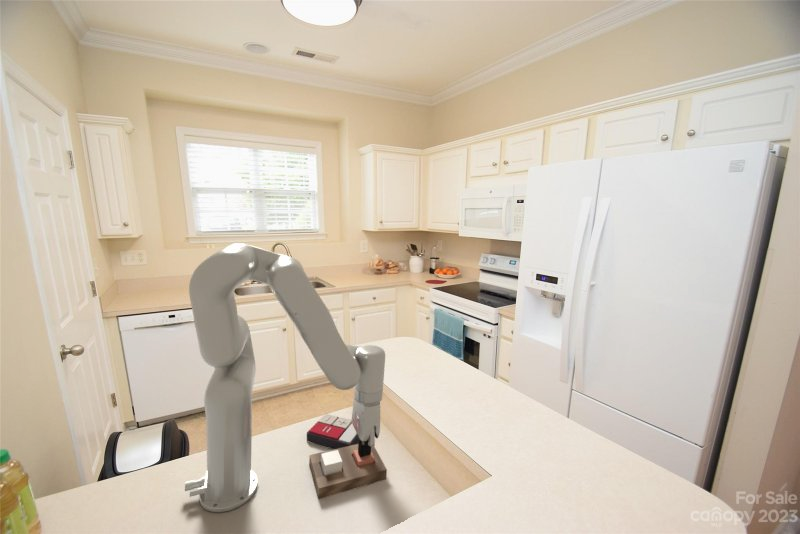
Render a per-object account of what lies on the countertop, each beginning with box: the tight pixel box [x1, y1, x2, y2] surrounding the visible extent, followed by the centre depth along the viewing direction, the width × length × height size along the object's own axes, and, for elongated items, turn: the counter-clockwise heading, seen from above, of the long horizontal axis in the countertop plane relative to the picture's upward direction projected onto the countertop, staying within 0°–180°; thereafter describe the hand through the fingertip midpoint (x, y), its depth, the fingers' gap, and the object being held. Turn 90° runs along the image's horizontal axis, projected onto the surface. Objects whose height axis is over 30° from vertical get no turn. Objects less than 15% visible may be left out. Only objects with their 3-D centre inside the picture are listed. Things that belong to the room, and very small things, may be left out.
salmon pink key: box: [353, 450, 374, 467], centre depth 91 cm, size 4×4×4 cm
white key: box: [321, 450, 342, 476], centre depth 87 cm, size 4×4×4 cm
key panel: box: [308, 444, 388, 500], centre depth 90 cm, size 18×12×3 cm, turn 115°
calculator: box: [306, 413, 359, 450], centre depth 103 cm, size 11×4×15 cm
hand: (364, 454), depth 91 cm, fingers closed
